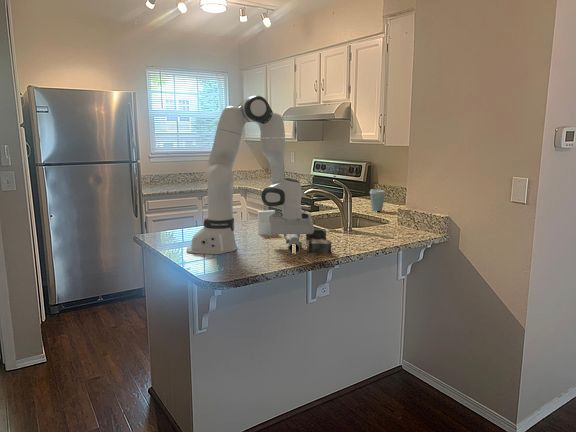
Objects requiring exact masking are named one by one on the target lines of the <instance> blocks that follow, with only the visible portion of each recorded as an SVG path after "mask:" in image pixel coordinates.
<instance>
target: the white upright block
mask: <svg viewBox="0 0 576 432" xmlns="http://www.w3.org/2000/svg"><path fill="white" fill-rule="evenodd" d="M272 214H276V211H275V210H274V209H268V210H258V211H257V235H259V236H273V235H275V234H271V233H270V225H271V223H270V222H269V217H270V216H271V215H272Z"/></svg>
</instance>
